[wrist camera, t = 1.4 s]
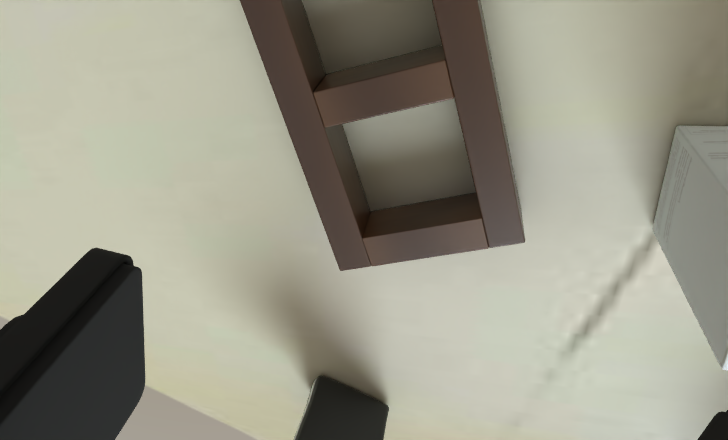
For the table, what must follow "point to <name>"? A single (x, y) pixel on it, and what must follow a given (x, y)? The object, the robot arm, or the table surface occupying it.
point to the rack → (382, 96)
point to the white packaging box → (698, 226)
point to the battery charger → (341, 414)
